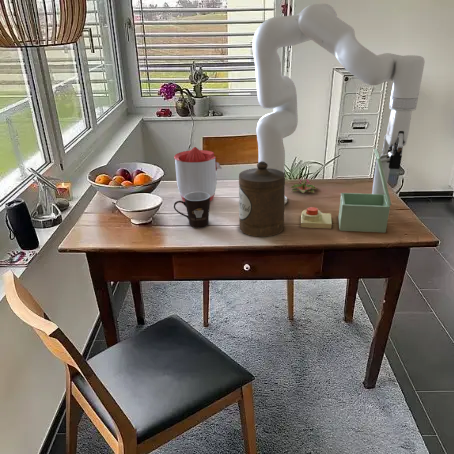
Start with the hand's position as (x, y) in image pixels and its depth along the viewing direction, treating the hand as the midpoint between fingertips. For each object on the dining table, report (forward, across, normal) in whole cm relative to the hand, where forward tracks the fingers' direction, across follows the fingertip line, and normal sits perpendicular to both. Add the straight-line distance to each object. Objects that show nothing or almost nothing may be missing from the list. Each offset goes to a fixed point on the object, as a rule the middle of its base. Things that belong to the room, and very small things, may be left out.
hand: (392, 164), depth 147 cm
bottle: (+21, -18, 0) cm, 28 cm away
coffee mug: (+21, +6, -63) cm, 66 cm away
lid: (+4, 0, -3) cm, 5 cm away
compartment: (+20, 0, -7) cm, 21 cm away
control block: (+20, 0, -22) cm, 30 cm away
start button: (+17, 0, -23) cm, 29 cm away
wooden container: (+21, +7, -40) cm, 45 cm away
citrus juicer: (+21, -17, -66) cm, 71 cm away
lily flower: (+21, -32, -27) cm, 47 cm away
